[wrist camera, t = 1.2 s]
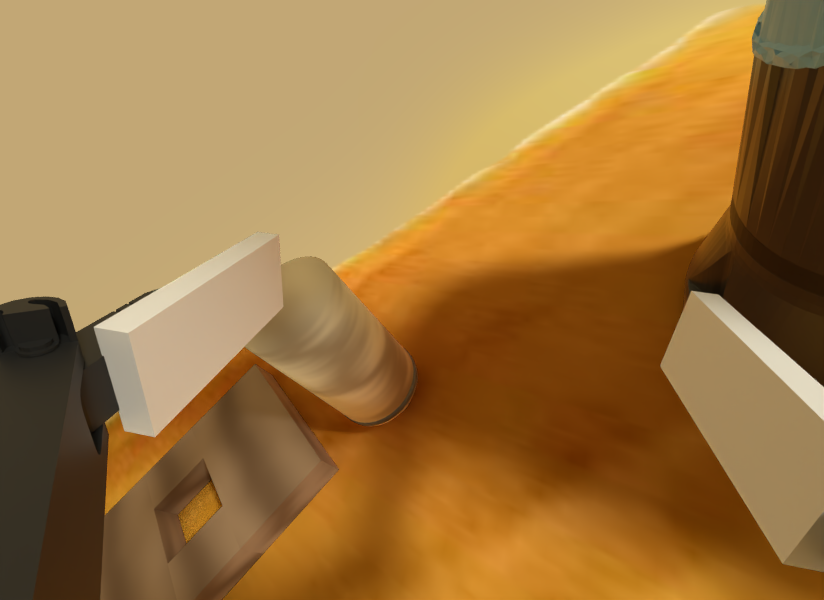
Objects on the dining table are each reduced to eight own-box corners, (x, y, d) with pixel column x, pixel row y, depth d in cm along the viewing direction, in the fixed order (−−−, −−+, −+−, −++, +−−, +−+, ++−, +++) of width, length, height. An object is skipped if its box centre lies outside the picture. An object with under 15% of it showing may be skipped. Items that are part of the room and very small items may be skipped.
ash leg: (396, 345, 38) (300, 242, 28) (446, 387, 34) (353, 282, 23) (342, 403, 37) (222, 317, 27) (387, 455, 32) (261, 375, 22)
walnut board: (271, 374, 43) (255, 363, 41) (339, 469, 34) (320, 460, 32) (100, 550, 39) (73, 547, 38) (120, 712, 30) (86, 717, 28)
